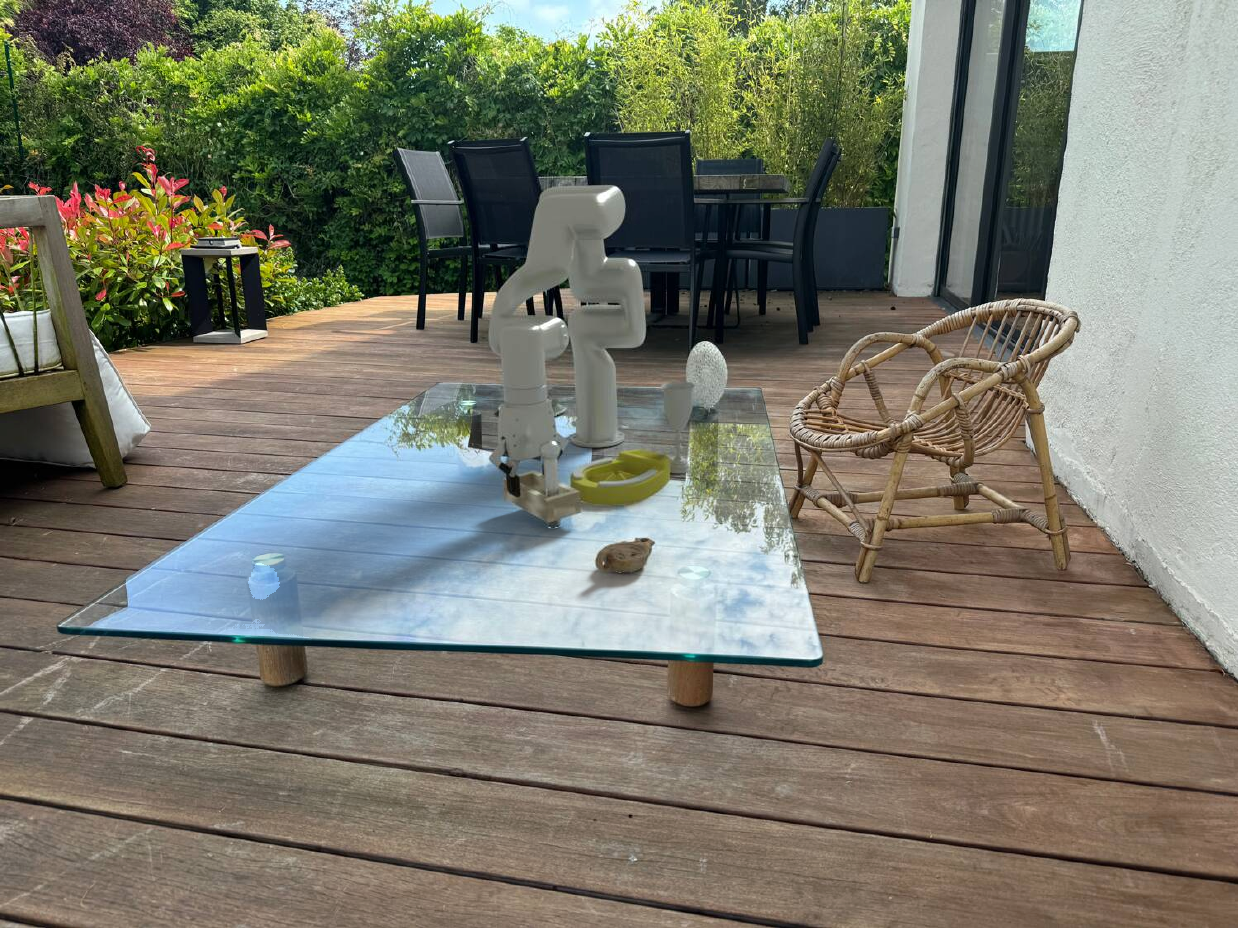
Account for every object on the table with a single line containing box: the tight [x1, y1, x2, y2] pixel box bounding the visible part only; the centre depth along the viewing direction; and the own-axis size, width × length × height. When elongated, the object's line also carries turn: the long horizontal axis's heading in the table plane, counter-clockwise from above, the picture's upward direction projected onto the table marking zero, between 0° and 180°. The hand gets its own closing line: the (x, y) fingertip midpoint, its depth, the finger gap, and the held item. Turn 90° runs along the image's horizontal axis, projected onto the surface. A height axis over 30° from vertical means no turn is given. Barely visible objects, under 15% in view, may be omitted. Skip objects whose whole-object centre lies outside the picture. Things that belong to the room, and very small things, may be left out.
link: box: [502, 469, 582, 523], centre depth 152 cm, size 15×7×4 cm, turn 37°
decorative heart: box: [685, 340, 728, 413], centre depth 224 cm, size 18×11×17 cm, turn 0°
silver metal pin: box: [539, 440, 562, 528], centre depth 148 cm, size 4×4×16 cm
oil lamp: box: [594, 537, 656, 573], centre depth 132 cm, size 13×8×5 cm, turn 140°
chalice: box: [660, 381, 695, 474], centre depth 175 cm, size 7×7×18 cm
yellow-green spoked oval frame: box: [569, 449, 671, 506], centre depth 168 cm, size 16×21×5 cm
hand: (532, 489), depth 154 cm, fingers closed on link, 6 cm apart
